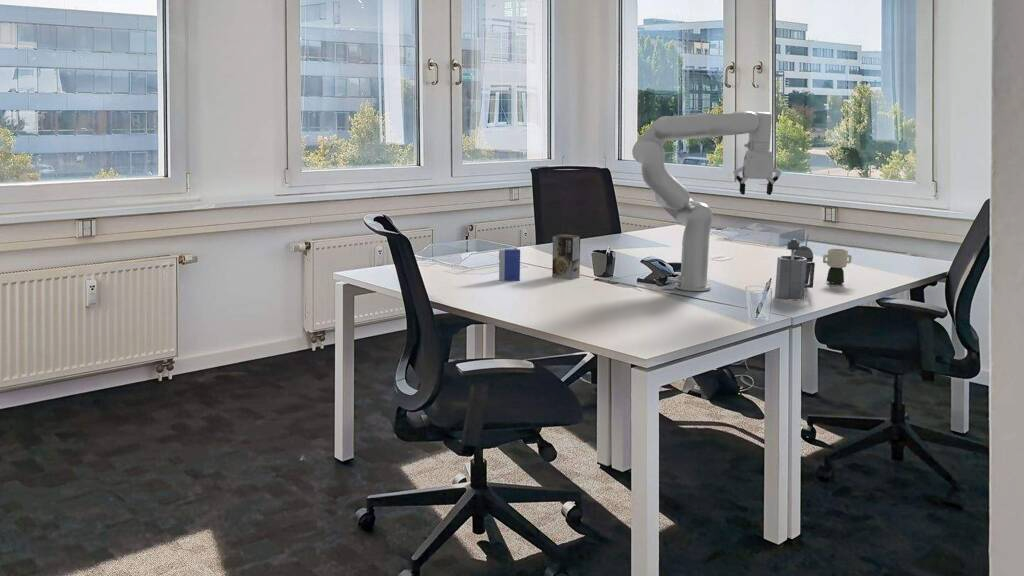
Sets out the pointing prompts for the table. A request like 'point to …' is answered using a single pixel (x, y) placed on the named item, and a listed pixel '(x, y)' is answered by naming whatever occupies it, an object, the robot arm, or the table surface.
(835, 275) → the character mug
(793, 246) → the plunger
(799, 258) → the carafe
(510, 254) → the walkman
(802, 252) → the beverage cup
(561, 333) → the table surface
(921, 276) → the table surface
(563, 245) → the coffee box
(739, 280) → the table surface
